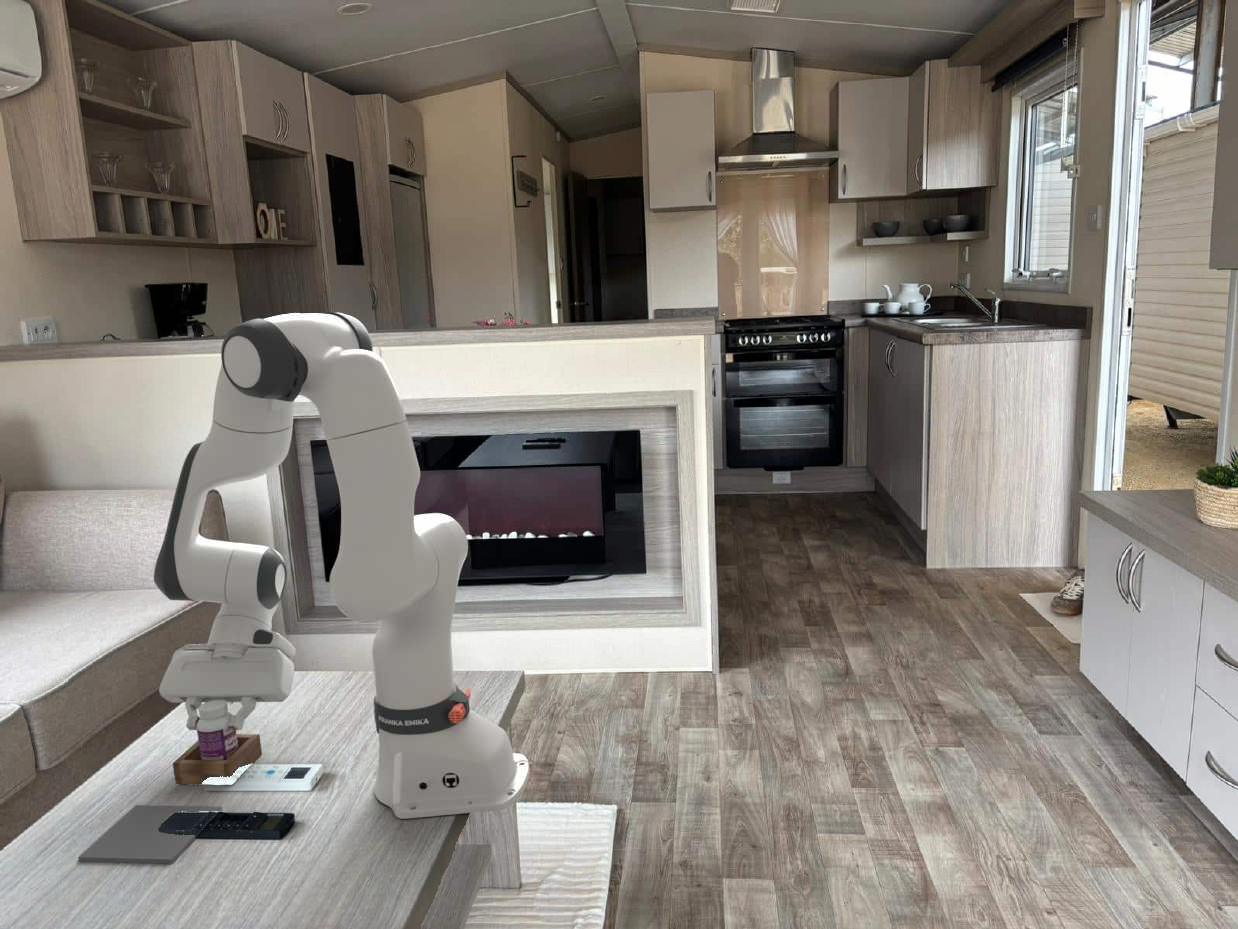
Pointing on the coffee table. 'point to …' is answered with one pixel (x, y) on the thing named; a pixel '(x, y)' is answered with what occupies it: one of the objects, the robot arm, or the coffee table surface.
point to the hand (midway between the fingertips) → (213, 729)
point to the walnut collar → (215, 761)
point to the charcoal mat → (142, 837)
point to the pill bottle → (216, 731)
